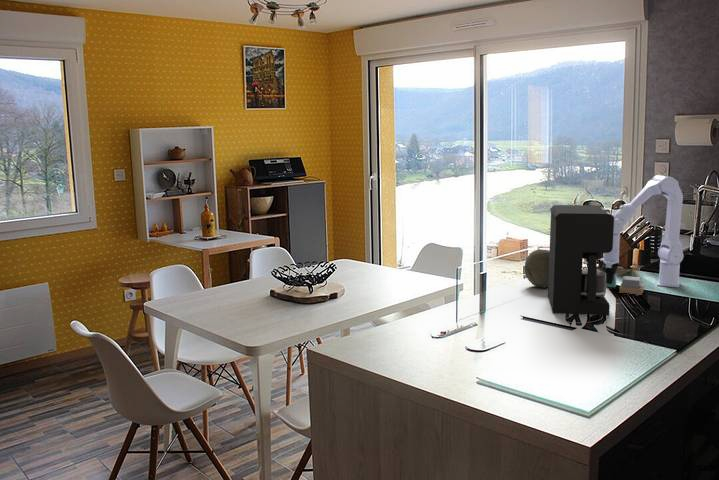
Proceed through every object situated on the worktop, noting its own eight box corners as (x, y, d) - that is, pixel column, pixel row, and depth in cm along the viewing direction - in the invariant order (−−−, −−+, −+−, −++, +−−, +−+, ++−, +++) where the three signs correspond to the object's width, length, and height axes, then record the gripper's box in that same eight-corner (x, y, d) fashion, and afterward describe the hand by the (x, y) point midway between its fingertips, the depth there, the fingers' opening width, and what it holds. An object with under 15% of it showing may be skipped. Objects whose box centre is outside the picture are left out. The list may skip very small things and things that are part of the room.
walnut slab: (621, 290, 267) (621, 282, 267) (643, 292, 264) (643, 284, 263) (619, 294, 260) (619, 287, 260) (641, 297, 257) (642, 289, 256)
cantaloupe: (562, 291, 264) (564, 253, 262) (525, 290, 266) (526, 252, 264) (558, 283, 278) (559, 246, 275) (522, 282, 280) (523, 246, 278)
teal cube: (604, 283, 276) (605, 273, 275) (616, 284, 274) (616, 274, 273) (602, 286, 272) (603, 275, 271) (614, 287, 270) (615, 276, 269)
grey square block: (623, 283, 265) (623, 276, 265) (639, 285, 263) (640, 277, 262) (622, 286, 260) (622, 279, 260) (639, 288, 258) (639, 280, 257)
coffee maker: (613, 319, 227) (618, 214, 221) (552, 316, 230) (556, 213, 225) (601, 298, 254) (605, 204, 248) (547, 296, 258) (550, 204, 252)
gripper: (603, 245, 278) (601, 277, 281) (598, 251, 266) (596, 284, 268) (621, 246, 275) (620, 279, 278) (617, 252, 263) (615, 286, 265)
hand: (609, 282), depth 273 cm, fingers closed on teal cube, 4 cm apart
